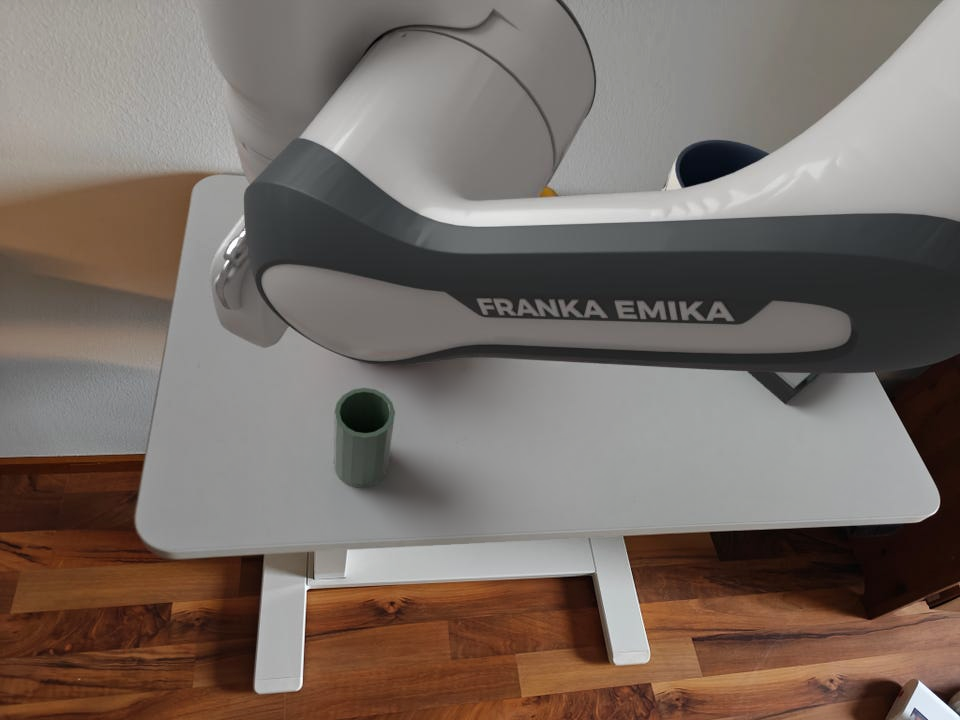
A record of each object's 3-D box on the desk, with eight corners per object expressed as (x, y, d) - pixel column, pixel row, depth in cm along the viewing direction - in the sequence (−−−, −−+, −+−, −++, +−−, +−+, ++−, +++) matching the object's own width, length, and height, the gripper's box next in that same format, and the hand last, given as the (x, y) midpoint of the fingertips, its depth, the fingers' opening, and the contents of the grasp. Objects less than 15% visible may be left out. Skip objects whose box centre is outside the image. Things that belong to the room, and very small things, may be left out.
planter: (622, 225, 108) (662, 131, 95) (736, 237, 111) (790, 147, 98) (643, 319, 97) (692, 226, 84) (769, 329, 100) (835, 241, 87)
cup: (398, 469, 77) (406, 418, 69) (354, 497, 75) (357, 447, 67) (367, 432, 79) (372, 378, 72) (323, 457, 77) (323, 405, 69)
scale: (829, 365, 97) (843, 351, 95) (785, 404, 92) (798, 389, 89) (764, 312, 101) (776, 297, 99) (718, 346, 96) (729, 331, 93)
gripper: (266, 306, 37) (295, 396, 49) (446, 43, 45) (431, 179, 57) (157, 252, 37) (214, 355, 50) (355, 0, 45) (360, 145, 58)
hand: (331, 259), depth 54 cm, fingers open, 8 cm apart
